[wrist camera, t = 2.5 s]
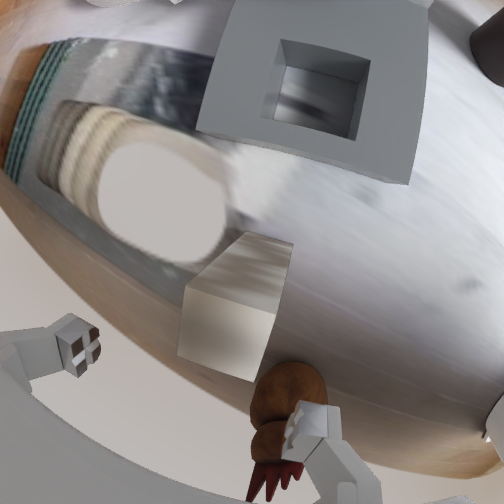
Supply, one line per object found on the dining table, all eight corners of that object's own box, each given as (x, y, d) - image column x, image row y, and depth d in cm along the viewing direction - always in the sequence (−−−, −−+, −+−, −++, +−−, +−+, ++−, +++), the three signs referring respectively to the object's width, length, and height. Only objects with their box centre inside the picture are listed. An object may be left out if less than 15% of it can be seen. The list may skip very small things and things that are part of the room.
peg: (293, 244, 22) (276, 314, 11) (280, 287, 23) (253, 382, 12) (246, 231, 23) (185, 285, 11) (236, 274, 24) (176, 355, 13)
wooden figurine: (262, 392, 27) (227, 511, 13) (259, 352, 26) (214, 484, 11) (324, 394, 26) (318, 518, 12) (329, 353, 24) (330, 494, 10)
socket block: (410, 26, 14) (467, -60, 1) (386, 183, 19) (492, 197, 6) (261, -8, 16) (219, -109, 3) (219, 138, 21) (104, 100, 8)
